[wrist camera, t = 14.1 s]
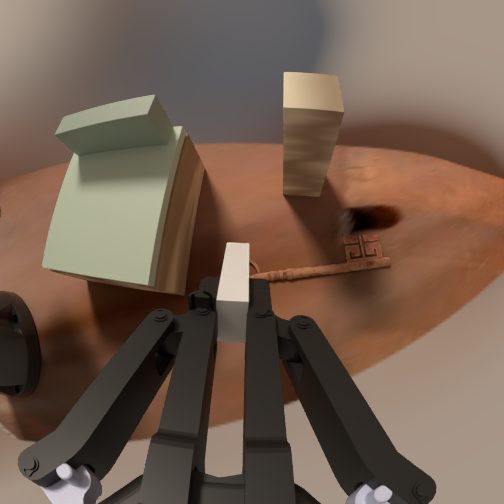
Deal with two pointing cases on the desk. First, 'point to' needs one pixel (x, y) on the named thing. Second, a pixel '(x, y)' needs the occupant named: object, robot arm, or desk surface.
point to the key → (335, 268)
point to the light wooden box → (173, 227)
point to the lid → (114, 191)
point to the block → (309, 130)
